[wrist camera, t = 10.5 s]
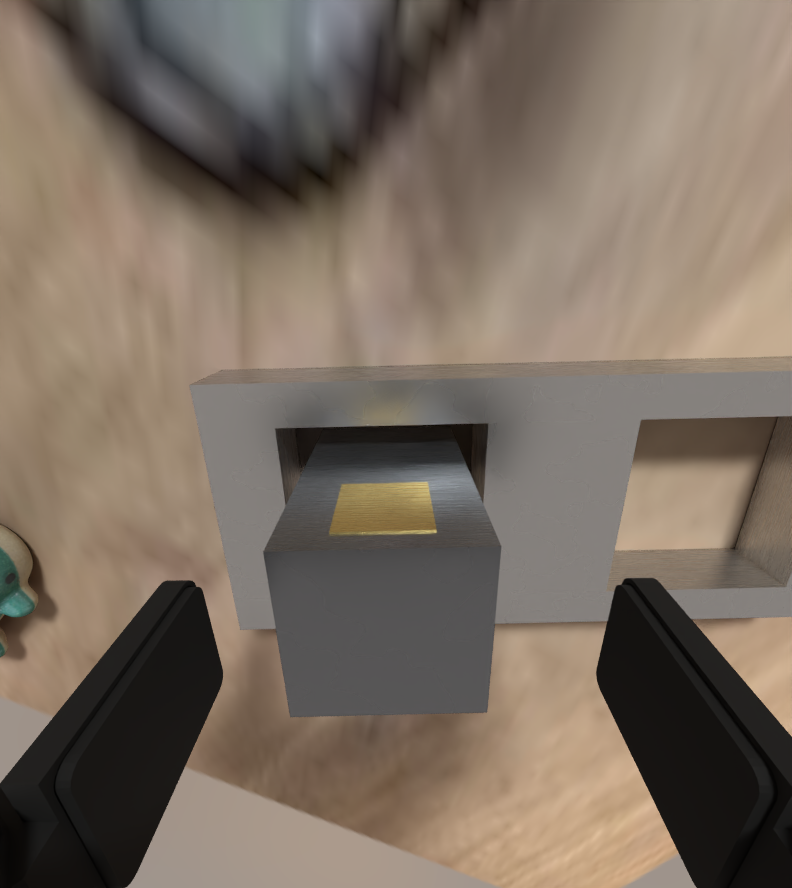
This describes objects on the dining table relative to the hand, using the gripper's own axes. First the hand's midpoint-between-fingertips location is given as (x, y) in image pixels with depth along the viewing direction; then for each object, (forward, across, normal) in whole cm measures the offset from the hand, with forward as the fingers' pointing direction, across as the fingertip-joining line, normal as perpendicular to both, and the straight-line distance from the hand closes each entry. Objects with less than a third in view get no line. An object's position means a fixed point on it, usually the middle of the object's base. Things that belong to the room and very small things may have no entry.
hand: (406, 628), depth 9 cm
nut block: (+8, +1, 0) cm, 8 cm away
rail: (+8, -5, 0) cm, 10 cm away
